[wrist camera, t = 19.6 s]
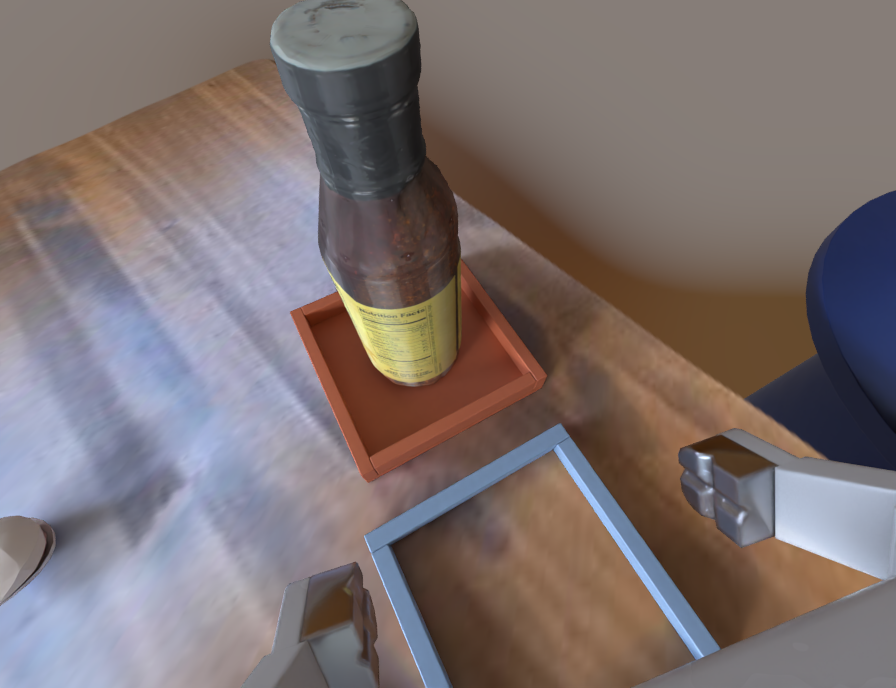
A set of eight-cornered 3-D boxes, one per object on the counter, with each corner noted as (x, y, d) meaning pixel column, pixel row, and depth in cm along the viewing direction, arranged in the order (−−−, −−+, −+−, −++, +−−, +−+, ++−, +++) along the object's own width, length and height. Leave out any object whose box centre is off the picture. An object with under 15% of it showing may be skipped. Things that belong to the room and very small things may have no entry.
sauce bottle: (396, 301, 31) (316, -53, 13) (475, 330, 29) (500, -22, 12) (351, 376, 28) (175, 48, 11) (436, 412, 27) (395, 104, 9)
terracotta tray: (450, 260, 33) (449, 242, 32) (542, 387, 28) (547, 375, 26) (299, 326, 31) (289, 311, 29) (368, 483, 25) (361, 476, 23)
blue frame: (556, 428, 26) (560, 422, 25) (727, 672, 20) (741, 677, 19) (367, 537, 24) (363, 535, 23) (500, 858, 18) (503, 876, 16)
